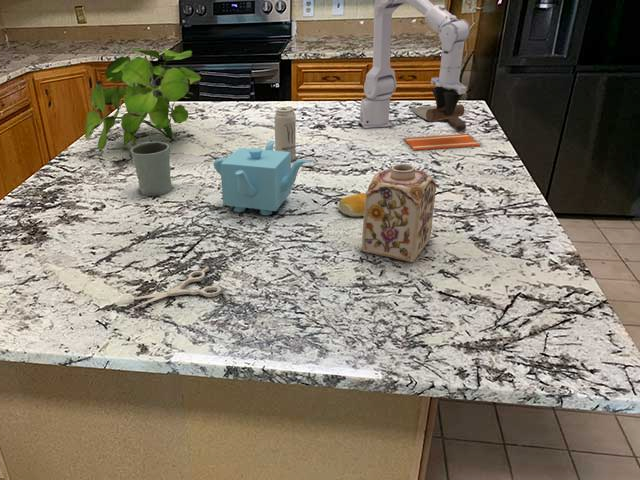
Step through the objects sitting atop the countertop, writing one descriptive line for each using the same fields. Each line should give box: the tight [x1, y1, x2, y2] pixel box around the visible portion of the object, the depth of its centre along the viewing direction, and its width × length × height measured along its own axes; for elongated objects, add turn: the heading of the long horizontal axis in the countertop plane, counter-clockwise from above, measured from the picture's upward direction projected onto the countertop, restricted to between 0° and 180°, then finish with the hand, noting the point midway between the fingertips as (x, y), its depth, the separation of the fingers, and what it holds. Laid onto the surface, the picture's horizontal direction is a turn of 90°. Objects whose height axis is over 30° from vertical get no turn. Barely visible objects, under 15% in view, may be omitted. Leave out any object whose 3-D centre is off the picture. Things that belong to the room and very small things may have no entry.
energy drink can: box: [274, 106, 297, 162], centre depth 178 cm, size 6×6×15 cm
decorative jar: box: [361, 163, 437, 263], centre depth 127 cm, size 12×12×18 cm
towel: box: [403, 133, 481, 152], centre depth 187 cm, size 20×11×1 cm, turn 93°
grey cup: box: [130, 141, 172, 197], centre depth 164 cm, size 10×10×12 cm
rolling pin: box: [426, 103, 465, 122], centre depth 183 cm, size 11×4×4 cm
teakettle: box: [213, 140, 310, 216], centre depth 150 cm, size 19×19×15 cm
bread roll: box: [338, 192, 366, 218], centre depth 148 cm, size 8×9×4 cm
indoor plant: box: [84, 48, 202, 151], centre depth 196 cm, size 44×42×30 cm
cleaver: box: [411, 105, 467, 132], centre depth 207 cm, size 29×10×2 cm, turn 9°
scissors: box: [121, 266, 222, 311], centre depth 119 cm, size 11×1×20 cm
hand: (444, 113), depth 183 cm, fingers closed on rolling pin, 3 cm apart
